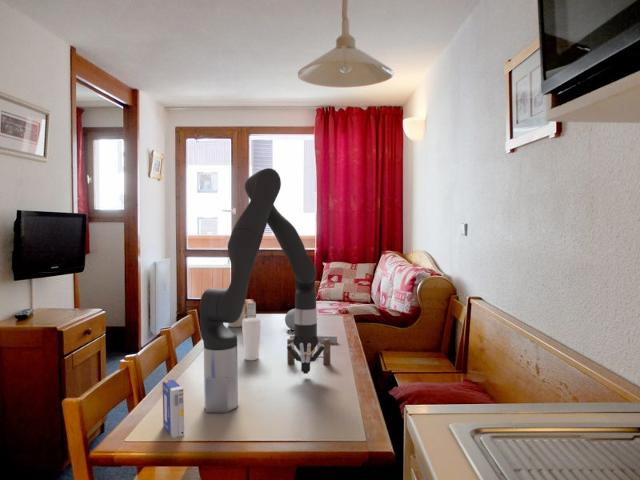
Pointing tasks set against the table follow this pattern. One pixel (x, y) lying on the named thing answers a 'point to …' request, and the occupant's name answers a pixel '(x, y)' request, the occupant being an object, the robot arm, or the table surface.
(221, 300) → the robot arm
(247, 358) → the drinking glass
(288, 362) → the post left
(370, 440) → the table surface
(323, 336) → the gray bar
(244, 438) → the table surface
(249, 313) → the candy box
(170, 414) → the blue and white carton
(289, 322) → the decorative stone
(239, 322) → the travel mug
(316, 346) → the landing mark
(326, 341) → the post right
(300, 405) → the table surface
